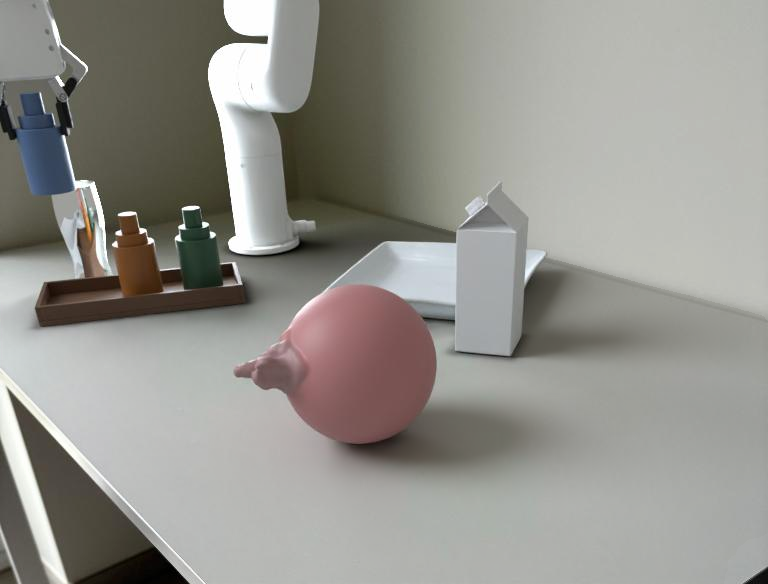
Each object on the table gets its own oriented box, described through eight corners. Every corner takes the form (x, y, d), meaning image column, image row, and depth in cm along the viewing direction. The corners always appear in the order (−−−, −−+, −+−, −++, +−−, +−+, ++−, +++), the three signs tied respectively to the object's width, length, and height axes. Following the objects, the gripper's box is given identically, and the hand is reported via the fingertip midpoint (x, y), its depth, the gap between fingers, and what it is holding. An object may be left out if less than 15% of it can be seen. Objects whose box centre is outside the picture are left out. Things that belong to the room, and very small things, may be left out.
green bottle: (222, 281, 125) (210, 201, 119) (225, 293, 120) (213, 210, 114) (183, 285, 124) (169, 205, 117) (185, 298, 119) (170, 214, 113)
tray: (238, 279, 129) (235, 261, 127) (245, 303, 119) (242, 284, 117) (48, 299, 123) (43, 281, 122) (39, 326, 113) (34, 307, 112)
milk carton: (521, 336, 104) (531, 181, 93) (510, 358, 98) (519, 195, 88) (468, 332, 106) (471, 179, 95) (454, 352, 100) (456, 193, 90)
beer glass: (63, 286, 129) (38, 188, 120) (92, 273, 134) (69, 178, 126) (98, 290, 126) (74, 190, 118) (126, 277, 132) (105, 180, 123)
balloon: (231, 424, 86) (209, 283, 77) (405, 392, 91) (402, 256, 82) (261, 495, 74) (239, 337, 65) (460, 453, 79) (463, 301, 70)
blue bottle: (78, 184, 113) (56, 89, 106) (75, 193, 108) (51, 93, 101) (33, 188, 112) (8, 92, 105) (28, 197, 107) (1, 96, 100)
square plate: (384, 261, 134) (383, 237, 131) (547, 272, 125) (549, 247, 123) (319, 316, 113) (317, 289, 110) (511, 334, 104) (513, 305, 102)
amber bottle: (164, 288, 124) (148, 207, 117) (164, 300, 119) (148, 216, 112) (124, 292, 122) (106, 211, 116) (123, 305, 118) (104, 220, 111)
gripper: (76, -29, 101) (108, 128, 111) (-71, -24, 98) (-24, 137, 108) (71, -30, 95) (106, 136, 105) (-85, -25, 92) (-34, 146, 102)
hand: (40, 135), depth 106 cm, fingers closed on blue bottle, 6 cm apart
